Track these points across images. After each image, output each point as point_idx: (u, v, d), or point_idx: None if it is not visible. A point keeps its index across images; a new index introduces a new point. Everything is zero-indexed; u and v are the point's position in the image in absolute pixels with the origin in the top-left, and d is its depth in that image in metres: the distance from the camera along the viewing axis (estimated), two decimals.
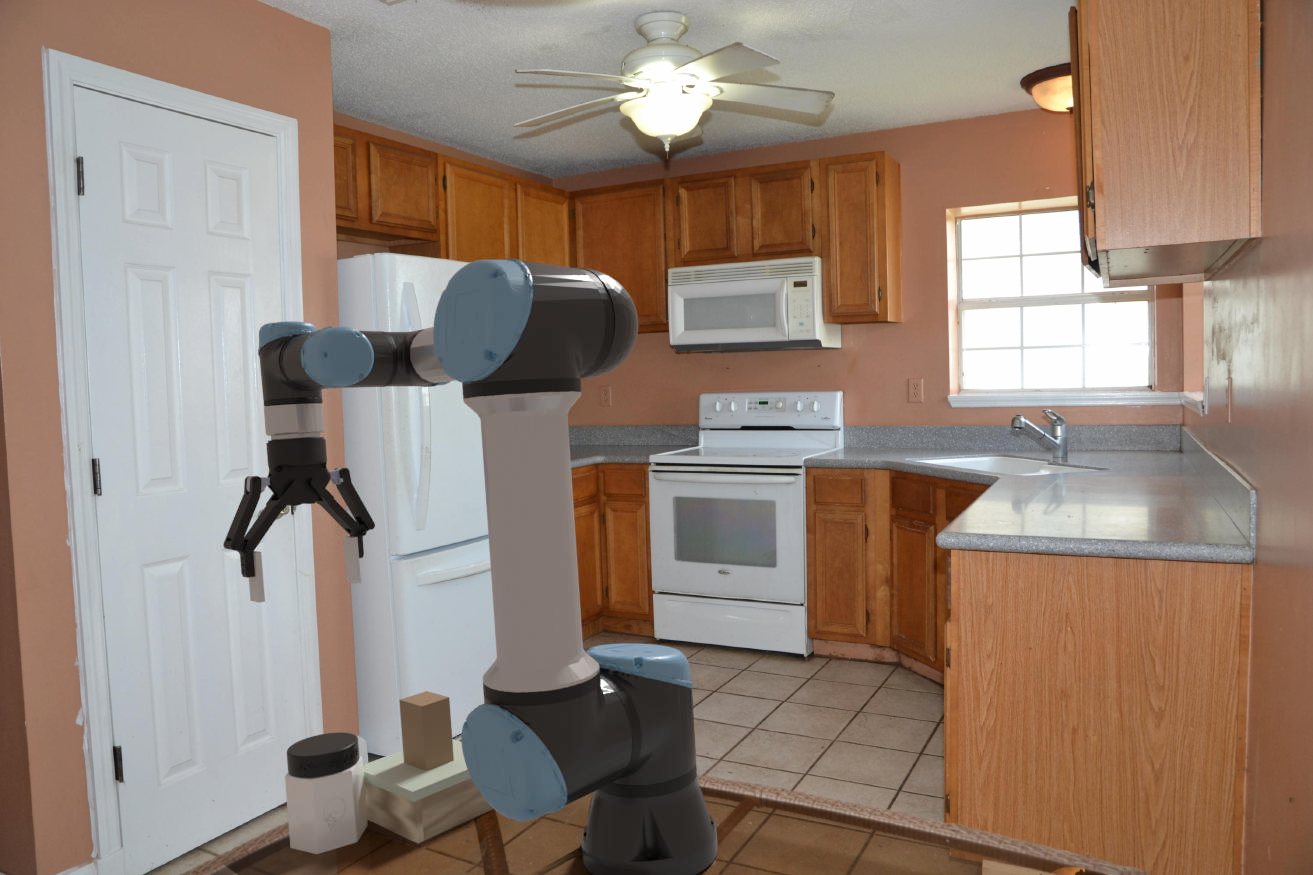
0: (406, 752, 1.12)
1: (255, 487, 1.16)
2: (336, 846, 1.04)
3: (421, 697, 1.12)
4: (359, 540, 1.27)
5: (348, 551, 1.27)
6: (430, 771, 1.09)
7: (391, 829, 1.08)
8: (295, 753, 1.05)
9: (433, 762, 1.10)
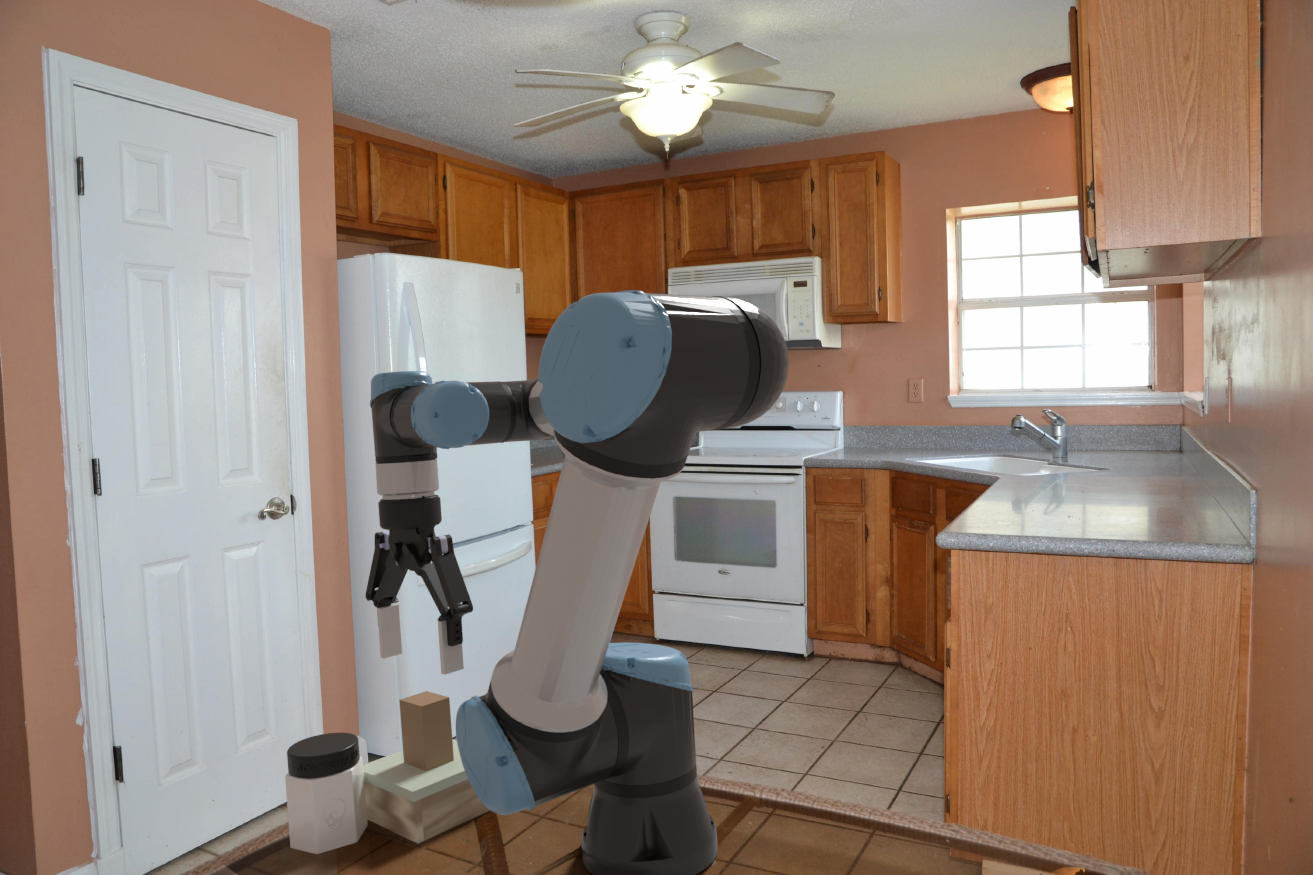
0: (406, 752, 1.12)
1: (376, 543, 1.15)
2: (336, 846, 1.04)
3: (421, 697, 1.12)
4: (449, 625, 1.06)
5: None
6: (430, 771, 1.09)
7: (391, 829, 1.08)
8: (295, 753, 1.05)
9: (433, 762, 1.10)
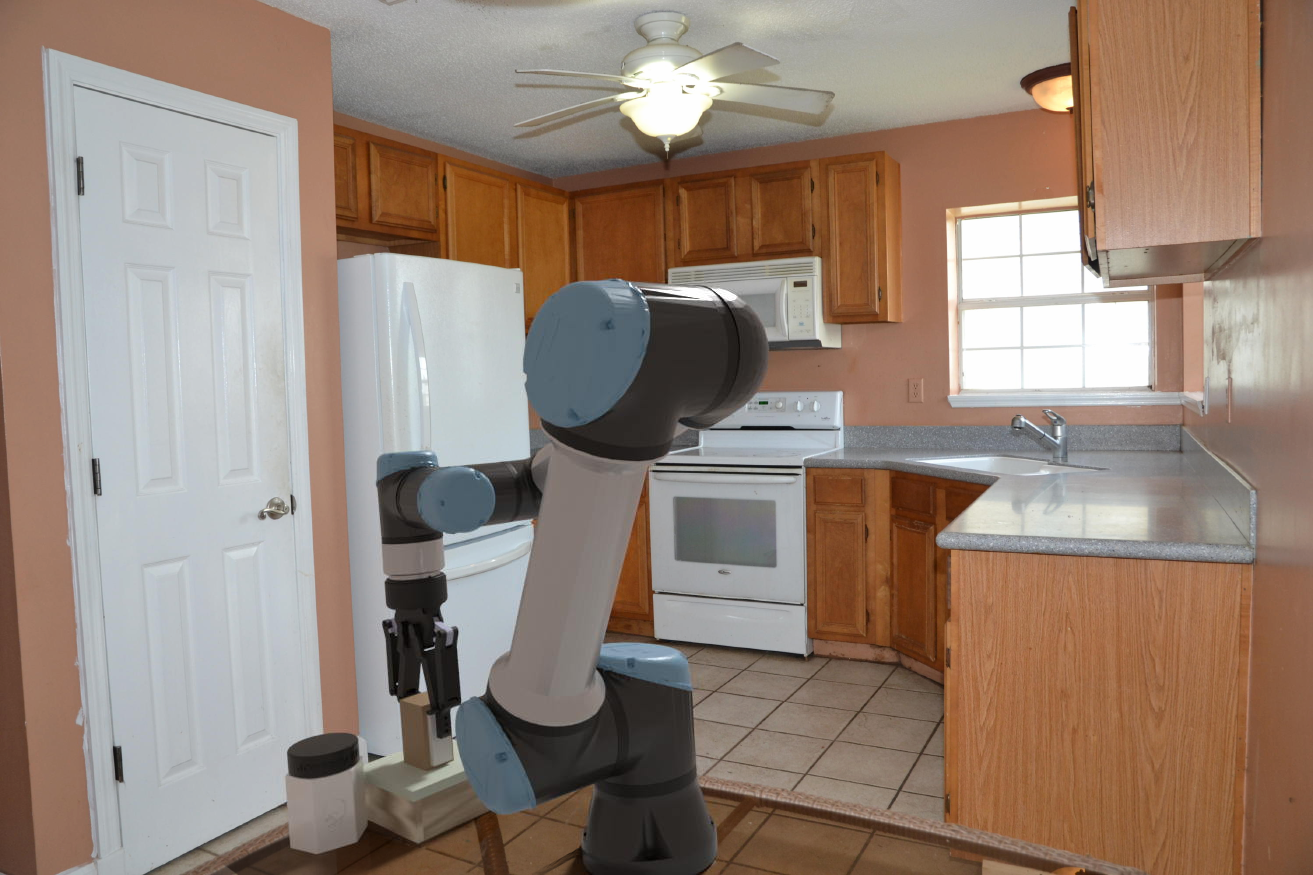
0: (406, 752, 1.12)
1: (385, 631, 1.15)
2: (336, 846, 1.04)
3: (421, 697, 1.12)
4: (438, 718, 1.09)
5: None
6: (430, 771, 1.09)
7: (391, 829, 1.08)
8: (295, 753, 1.05)
9: None
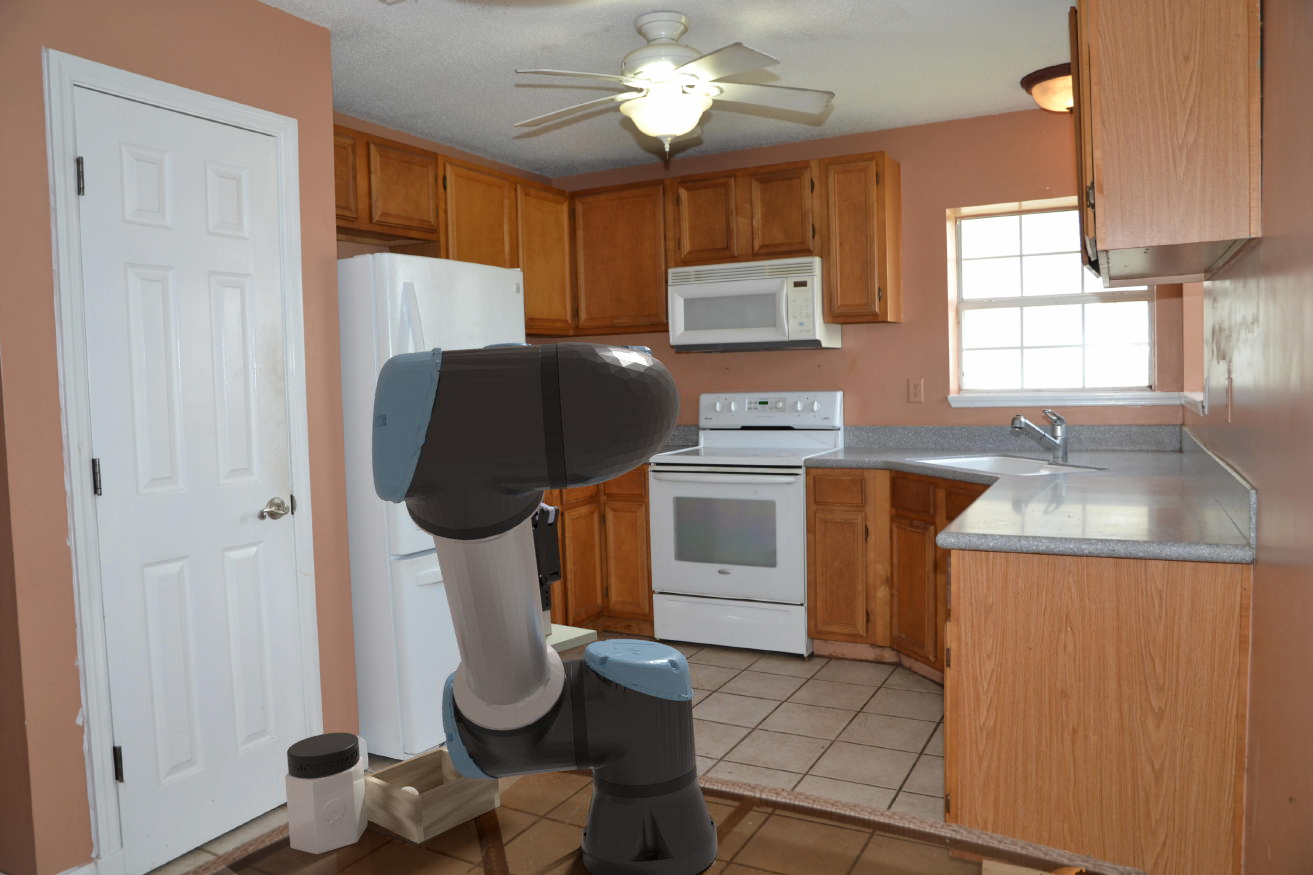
0: None
1: None
2: (336, 846, 1.04)
3: None
4: (539, 592, 1.17)
5: None
6: None
7: (391, 829, 1.08)
8: (295, 753, 1.05)
9: None
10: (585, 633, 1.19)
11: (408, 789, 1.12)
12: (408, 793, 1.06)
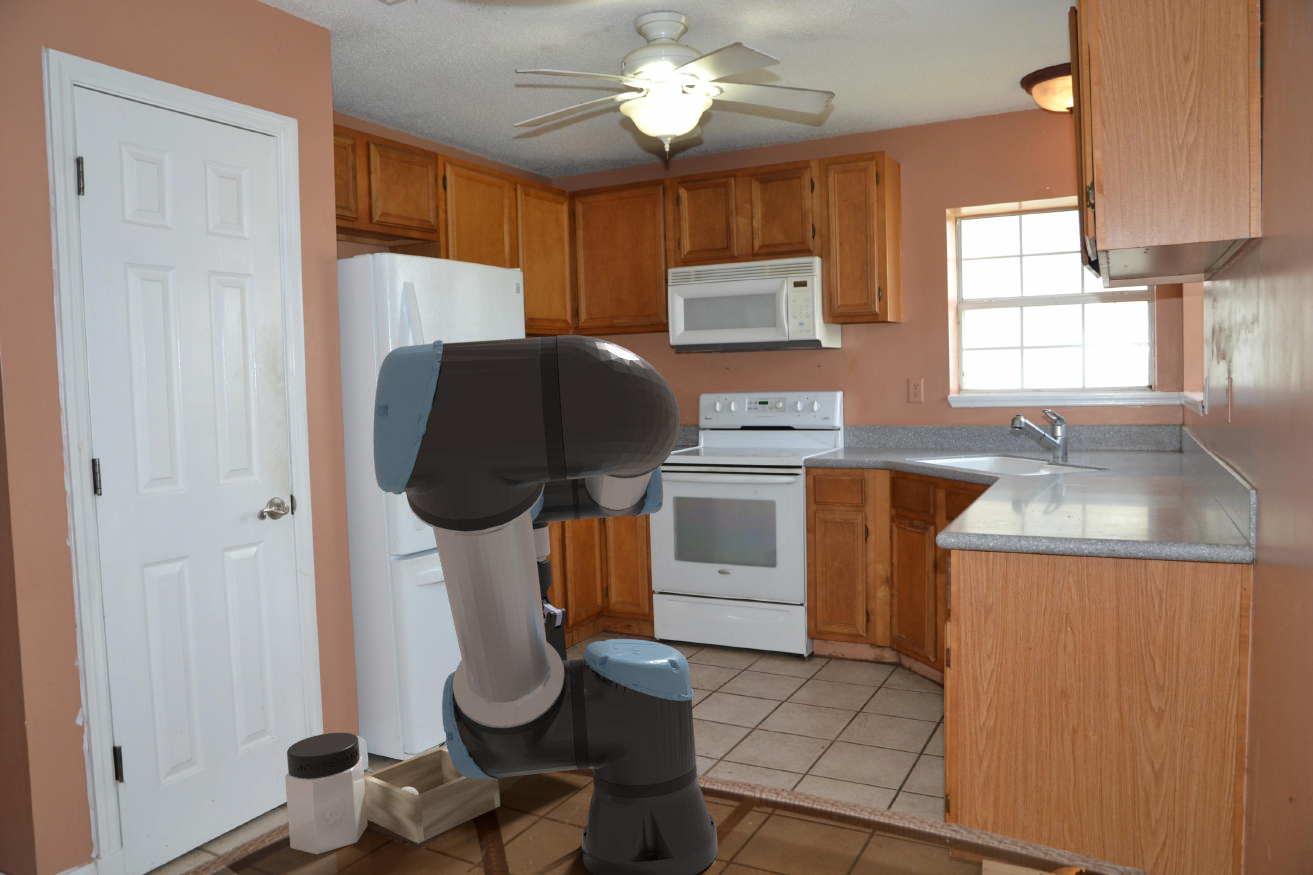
0: None
1: None
2: (336, 846, 1.04)
3: None
4: None
5: None
6: None
7: (391, 829, 1.08)
8: (295, 753, 1.05)
9: None
10: None
11: (408, 789, 1.12)
12: (408, 793, 1.06)
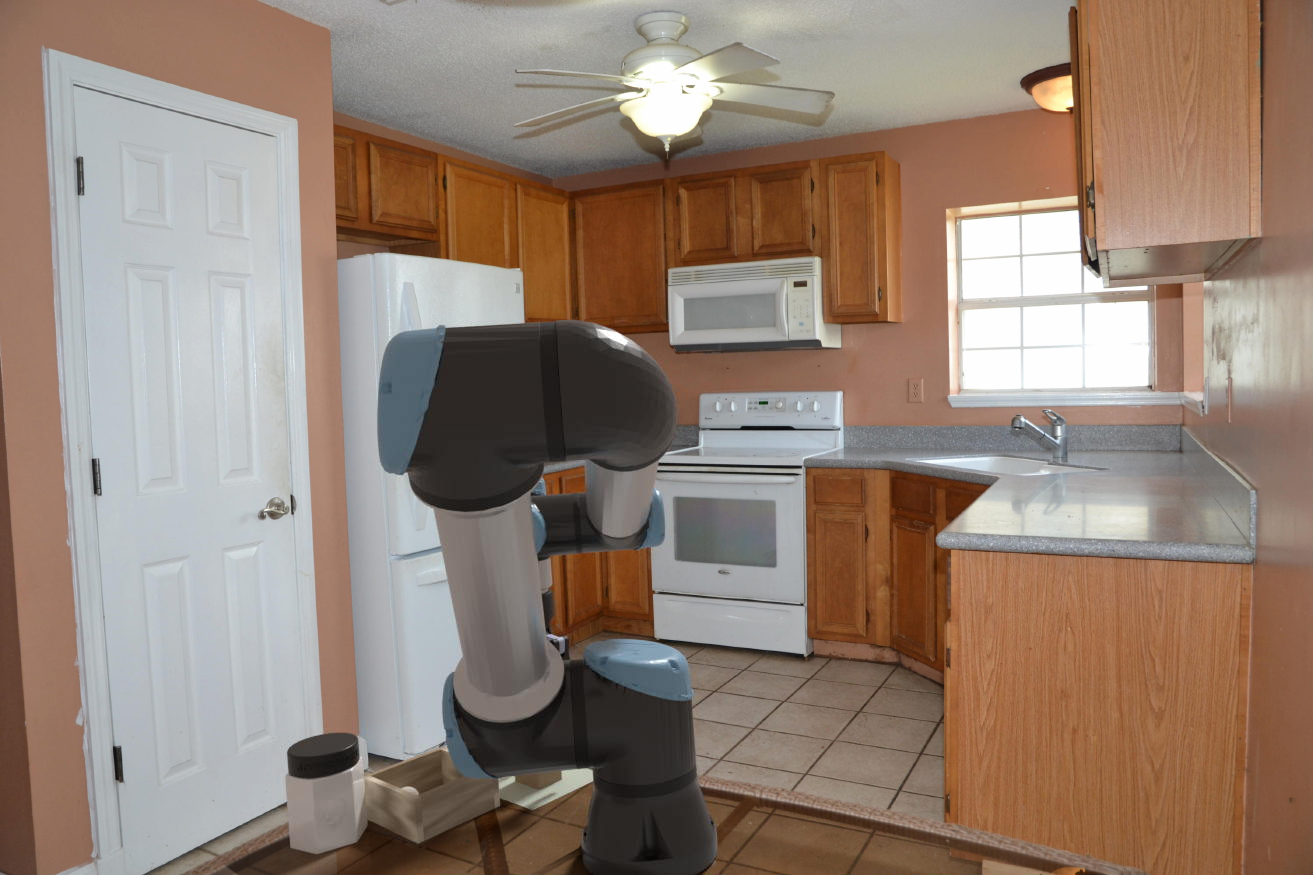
0: None
1: None
2: (336, 846, 1.04)
3: None
4: None
5: None
6: (543, 789, 1.17)
7: (391, 829, 1.08)
8: (295, 753, 1.05)
9: (545, 781, 1.18)
10: None
11: (408, 789, 1.12)
12: (408, 793, 1.06)
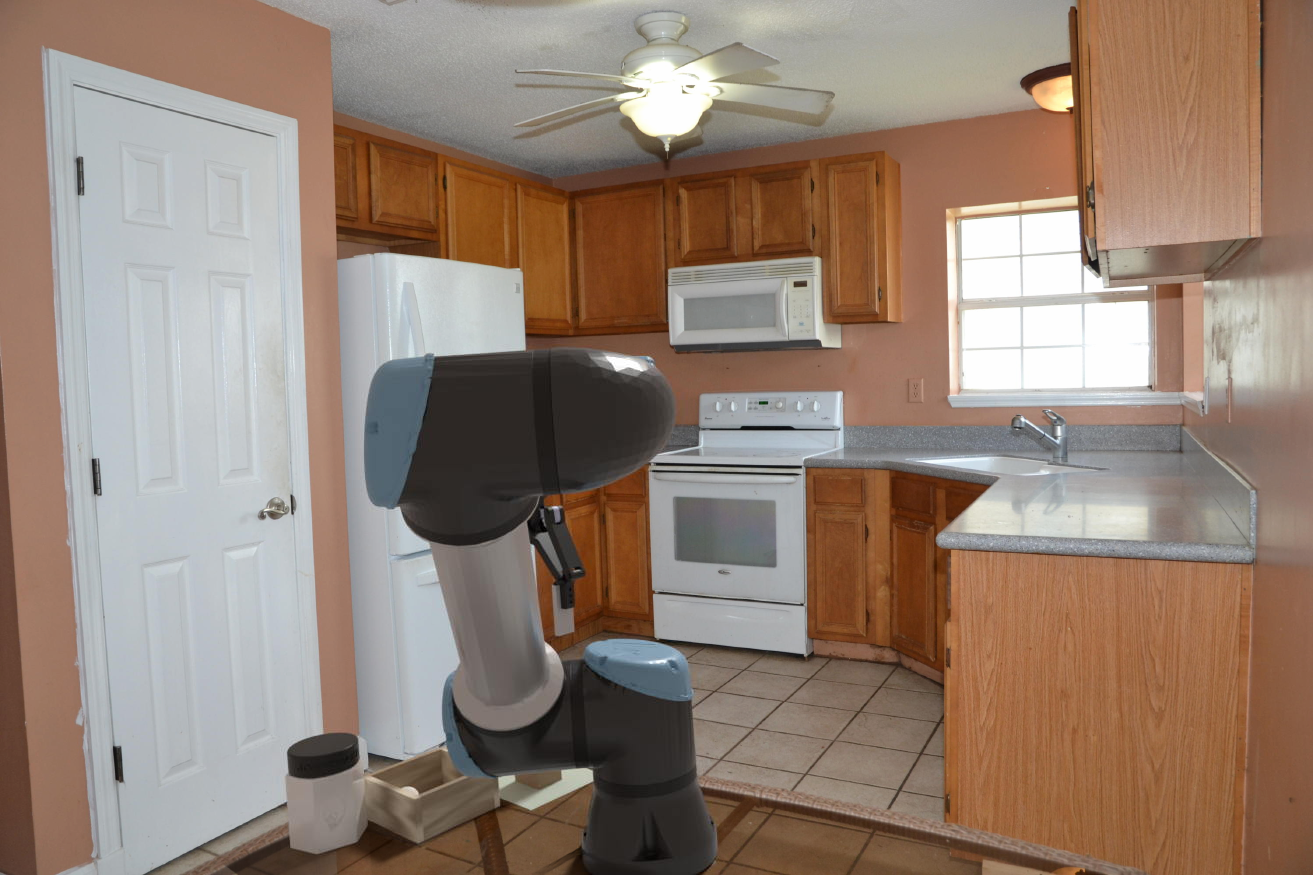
0: None
1: None
2: (336, 846, 1.04)
3: None
4: (563, 589, 1.14)
5: None
6: (542, 789, 1.17)
7: (391, 829, 1.08)
8: (295, 753, 1.05)
9: (544, 781, 1.18)
10: None
11: (408, 789, 1.12)
12: (408, 793, 1.06)
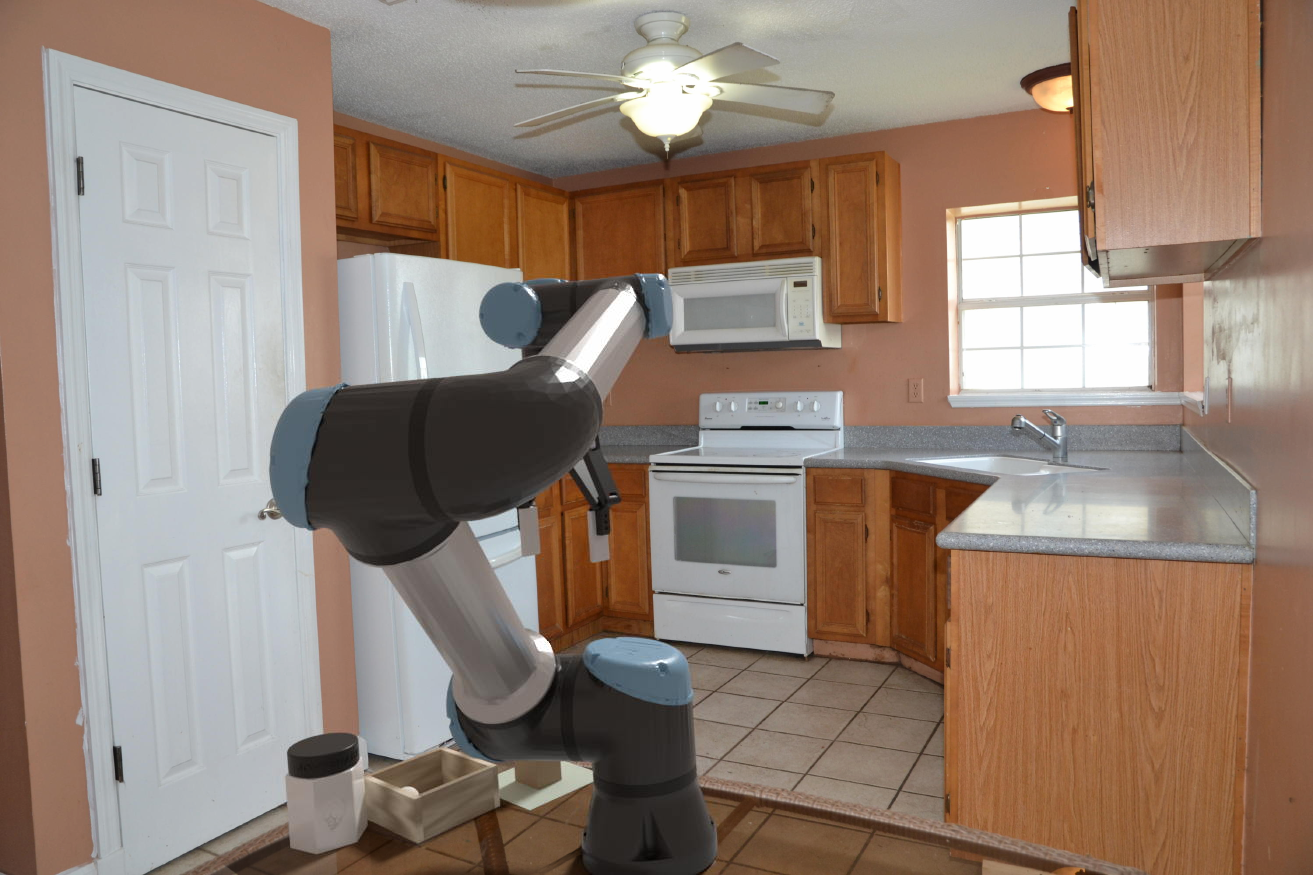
0: (518, 771, 1.20)
1: None
2: (336, 846, 1.04)
3: None
4: (598, 515, 1.13)
5: None
6: (542, 789, 1.17)
7: (391, 829, 1.08)
8: (295, 753, 1.05)
9: (544, 781, 1.18)
10: None
11: (408, 789, 1.12)
12: (408, 793, 1.06)
